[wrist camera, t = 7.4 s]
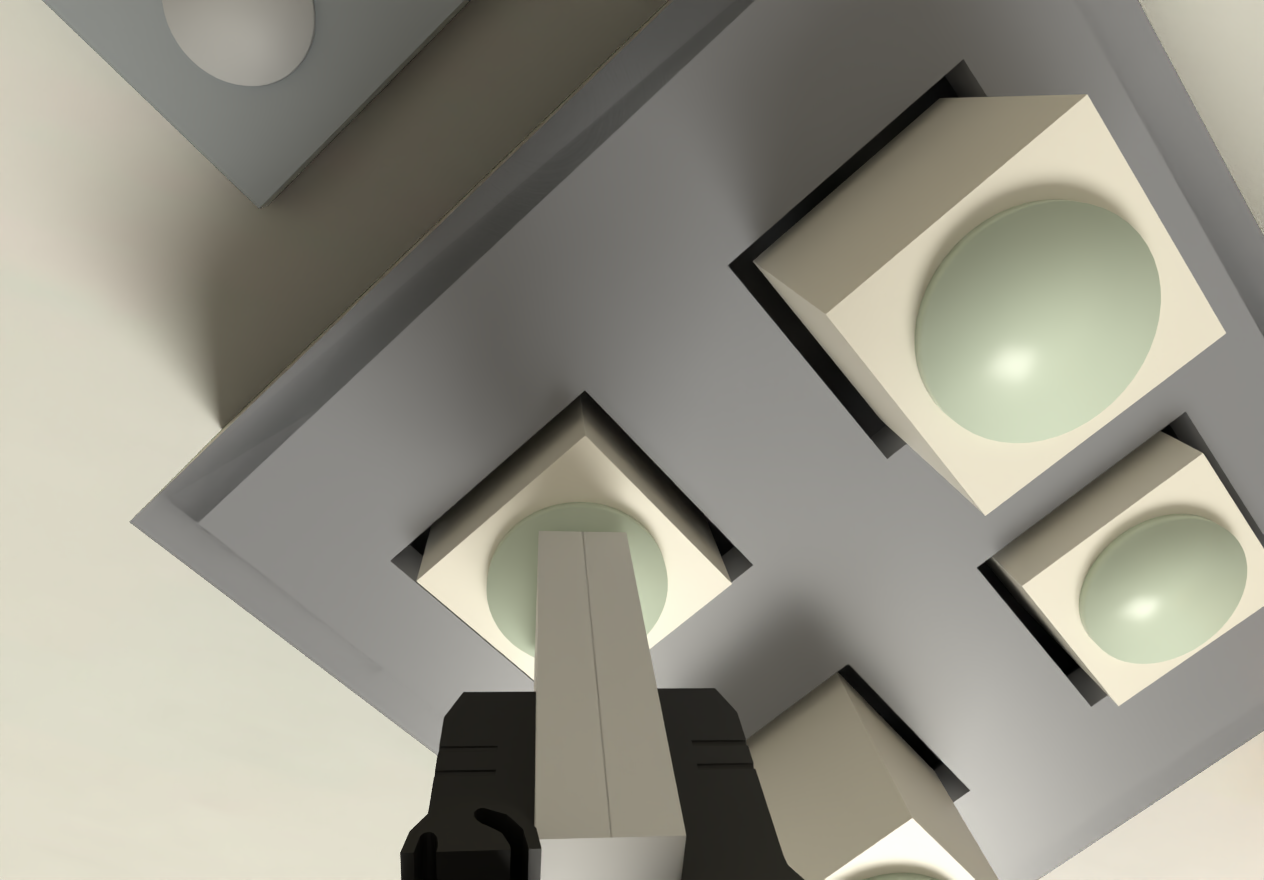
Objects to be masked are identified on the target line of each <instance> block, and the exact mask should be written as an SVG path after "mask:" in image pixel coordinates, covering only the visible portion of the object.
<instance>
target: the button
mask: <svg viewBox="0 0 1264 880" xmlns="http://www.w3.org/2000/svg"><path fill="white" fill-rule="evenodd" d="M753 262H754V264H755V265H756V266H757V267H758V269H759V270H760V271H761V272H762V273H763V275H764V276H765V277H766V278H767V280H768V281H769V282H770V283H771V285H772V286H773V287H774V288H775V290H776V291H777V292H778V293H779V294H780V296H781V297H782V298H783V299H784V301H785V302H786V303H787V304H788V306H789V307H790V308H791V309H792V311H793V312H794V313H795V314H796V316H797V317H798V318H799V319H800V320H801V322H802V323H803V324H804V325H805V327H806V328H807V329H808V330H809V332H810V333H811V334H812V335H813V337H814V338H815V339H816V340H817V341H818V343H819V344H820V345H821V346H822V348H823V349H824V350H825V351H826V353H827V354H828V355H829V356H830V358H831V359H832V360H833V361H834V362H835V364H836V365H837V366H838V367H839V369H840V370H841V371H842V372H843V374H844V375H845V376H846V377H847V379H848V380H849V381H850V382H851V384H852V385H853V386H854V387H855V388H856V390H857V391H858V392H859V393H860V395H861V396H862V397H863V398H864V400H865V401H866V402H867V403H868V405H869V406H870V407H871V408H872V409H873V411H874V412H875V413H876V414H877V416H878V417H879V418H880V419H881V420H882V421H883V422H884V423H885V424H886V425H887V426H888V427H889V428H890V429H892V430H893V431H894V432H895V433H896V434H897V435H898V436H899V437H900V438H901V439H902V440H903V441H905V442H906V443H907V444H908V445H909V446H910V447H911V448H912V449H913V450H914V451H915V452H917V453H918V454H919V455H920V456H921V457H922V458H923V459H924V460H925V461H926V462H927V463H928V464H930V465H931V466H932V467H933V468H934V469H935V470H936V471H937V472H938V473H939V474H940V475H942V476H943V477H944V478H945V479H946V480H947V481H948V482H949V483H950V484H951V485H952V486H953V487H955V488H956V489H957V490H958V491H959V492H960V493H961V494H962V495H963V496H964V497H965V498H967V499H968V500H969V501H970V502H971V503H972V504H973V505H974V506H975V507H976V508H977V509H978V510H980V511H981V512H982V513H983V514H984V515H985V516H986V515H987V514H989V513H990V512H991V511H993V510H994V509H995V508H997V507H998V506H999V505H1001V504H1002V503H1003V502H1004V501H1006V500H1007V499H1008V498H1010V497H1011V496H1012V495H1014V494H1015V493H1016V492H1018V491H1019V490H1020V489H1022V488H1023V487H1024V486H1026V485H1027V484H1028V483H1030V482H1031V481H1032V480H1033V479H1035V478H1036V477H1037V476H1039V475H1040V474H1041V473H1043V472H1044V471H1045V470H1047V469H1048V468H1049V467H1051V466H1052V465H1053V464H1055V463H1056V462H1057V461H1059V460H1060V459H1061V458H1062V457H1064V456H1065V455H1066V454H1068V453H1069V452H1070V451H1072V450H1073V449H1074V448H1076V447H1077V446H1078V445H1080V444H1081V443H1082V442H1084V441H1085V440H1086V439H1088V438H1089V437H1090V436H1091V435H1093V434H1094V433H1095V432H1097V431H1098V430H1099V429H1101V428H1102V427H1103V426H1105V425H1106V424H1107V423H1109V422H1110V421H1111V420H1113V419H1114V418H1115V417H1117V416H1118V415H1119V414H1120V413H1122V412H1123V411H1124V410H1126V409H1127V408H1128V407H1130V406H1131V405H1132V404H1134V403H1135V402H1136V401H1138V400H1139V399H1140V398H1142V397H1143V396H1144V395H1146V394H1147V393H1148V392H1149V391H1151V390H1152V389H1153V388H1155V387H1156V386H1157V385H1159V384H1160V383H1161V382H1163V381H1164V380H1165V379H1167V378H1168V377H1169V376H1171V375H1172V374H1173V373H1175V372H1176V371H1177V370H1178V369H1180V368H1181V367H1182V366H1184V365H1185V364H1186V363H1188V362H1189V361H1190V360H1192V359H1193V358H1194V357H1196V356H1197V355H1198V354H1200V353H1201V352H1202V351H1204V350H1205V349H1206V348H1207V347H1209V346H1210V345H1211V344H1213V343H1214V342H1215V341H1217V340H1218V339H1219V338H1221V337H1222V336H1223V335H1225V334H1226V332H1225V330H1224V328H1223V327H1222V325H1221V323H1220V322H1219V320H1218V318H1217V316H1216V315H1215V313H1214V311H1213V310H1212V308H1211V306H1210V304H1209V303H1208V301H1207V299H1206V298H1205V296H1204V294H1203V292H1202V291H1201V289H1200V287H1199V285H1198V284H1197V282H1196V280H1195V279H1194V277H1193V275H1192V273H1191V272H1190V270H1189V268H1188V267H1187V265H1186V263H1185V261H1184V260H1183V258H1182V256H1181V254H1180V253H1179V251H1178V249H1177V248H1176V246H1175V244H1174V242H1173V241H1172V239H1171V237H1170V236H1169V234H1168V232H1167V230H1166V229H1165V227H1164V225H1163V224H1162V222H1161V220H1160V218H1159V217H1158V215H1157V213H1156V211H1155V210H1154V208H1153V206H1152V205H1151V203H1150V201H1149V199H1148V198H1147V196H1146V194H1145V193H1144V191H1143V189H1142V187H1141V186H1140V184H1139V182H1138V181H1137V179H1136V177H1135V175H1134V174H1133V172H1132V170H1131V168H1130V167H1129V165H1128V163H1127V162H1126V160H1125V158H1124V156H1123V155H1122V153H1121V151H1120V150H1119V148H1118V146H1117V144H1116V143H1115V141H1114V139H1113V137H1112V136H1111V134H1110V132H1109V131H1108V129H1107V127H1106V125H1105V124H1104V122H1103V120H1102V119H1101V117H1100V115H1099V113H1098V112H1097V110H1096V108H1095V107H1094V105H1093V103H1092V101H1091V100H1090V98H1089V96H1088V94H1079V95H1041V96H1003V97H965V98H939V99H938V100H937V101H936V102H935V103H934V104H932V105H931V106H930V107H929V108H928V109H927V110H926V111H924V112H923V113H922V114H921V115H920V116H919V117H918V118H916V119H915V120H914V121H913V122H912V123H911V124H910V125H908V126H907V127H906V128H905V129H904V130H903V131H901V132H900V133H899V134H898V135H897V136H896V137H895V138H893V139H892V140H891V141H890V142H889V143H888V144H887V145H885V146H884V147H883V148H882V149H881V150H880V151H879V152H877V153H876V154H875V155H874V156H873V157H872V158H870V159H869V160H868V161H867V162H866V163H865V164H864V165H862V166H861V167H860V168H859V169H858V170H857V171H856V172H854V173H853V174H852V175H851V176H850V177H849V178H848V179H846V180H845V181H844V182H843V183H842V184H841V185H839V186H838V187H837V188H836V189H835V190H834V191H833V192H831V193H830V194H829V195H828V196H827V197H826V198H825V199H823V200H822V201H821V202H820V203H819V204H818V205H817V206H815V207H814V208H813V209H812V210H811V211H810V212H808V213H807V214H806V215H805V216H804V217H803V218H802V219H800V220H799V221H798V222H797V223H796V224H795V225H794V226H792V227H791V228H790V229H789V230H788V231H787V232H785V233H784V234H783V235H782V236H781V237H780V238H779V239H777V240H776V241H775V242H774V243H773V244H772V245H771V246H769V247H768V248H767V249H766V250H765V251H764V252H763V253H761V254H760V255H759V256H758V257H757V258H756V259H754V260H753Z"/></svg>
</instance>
